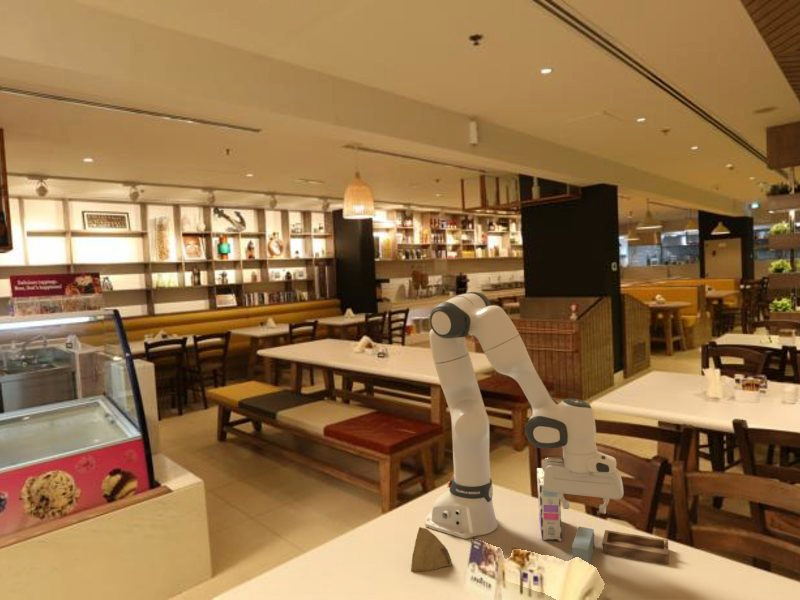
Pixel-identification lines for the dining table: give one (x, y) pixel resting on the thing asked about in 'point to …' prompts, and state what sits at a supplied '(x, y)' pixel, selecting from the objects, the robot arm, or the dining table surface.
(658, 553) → the open wooden box
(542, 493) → the candy box
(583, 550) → the key block
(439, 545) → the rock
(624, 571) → the dining table surface
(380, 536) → the dining table surface
